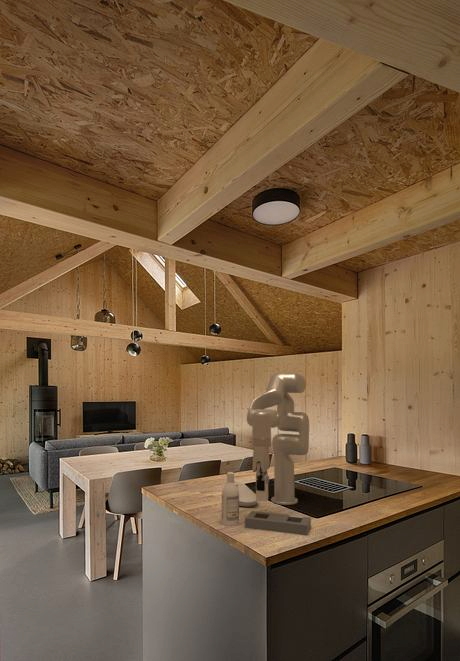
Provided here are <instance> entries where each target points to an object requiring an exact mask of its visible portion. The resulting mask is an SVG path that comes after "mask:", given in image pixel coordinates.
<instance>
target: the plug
mask: <svg viewBox="0 0 460 661" xmlns="http://www.w3.org/2000/svg"><path fill="white" fill-rule="evenodd" d="M260 475H262V474H260ZM264 480H265V490H264V491H257V488H256V487H255V494H256V501H258V502H262V503H263V502H265V503H266V502H267V501H268V500H269V483H270V476H269V473H268V472H267V473H264Z"/></svg>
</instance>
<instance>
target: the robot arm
mask: <svg viewBox="0 0 460 661" xmlns="http://www.w3.org/2000/svg"><path fill="white" fill-rule="evenodd" d="M306 388H307V380H306V379H305V376H303V375H301V374H299V373H297V372H274V373H273V374H272V375H271V376H270V378H269V381H268V384H267V386H266V390H265V392H263V393H261V394H260V395H259V396H256V398H254V399H253V400H252V401H251V403H250V406H249V407H248V409H247V413H246V422H247V425H249V426H250V427H252V428H251V429H252V430H251V431H252V433H251V434H252V439H251V440H252V443H251V444H252V447H253V450H252V472H253V473H255V489H256V488H257V491H264V490H265V480H264V473H268V470H269V469H270V447H272V451H273V462H274V463H273V464H274V468H273V469H274V470H273V471H274V476H273V477H274V480H273V481H274V496H272V497H271V502H272V503H274V504H276V505H283V506H287V505H288V506H290V505H291V506H292V505H296V504H297V503H299V502H298V501H299V499H298V498H297V497H295V464H294V460H293V459H292V457H291V455H293V456H306V455H307V454H308V453H309V449H310V419H309V415H308V414H307V413H306V412H303V411H302V412H301V411H295V400H294V399H293V397H292V396H291V395H290V394H302V393H304V392H305V390H306ZM274 406H275V407H276V406H277V407H276V409H269V408H272V407H274ZM273 428H274V429H275V428H277V430H279V431H281V432H292V433H294V432H296V433H298V434H296V433H295V434H292V433H278V434H274V436H273V438H272V429H273ZM260 474H262V475H260Z"/></svg>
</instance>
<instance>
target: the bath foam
mask: <svg viewBox="0 0 460 661" xmlns="http://www.w3.org/2000/svg"><path fill="white" fill-rule="evenodd" d="M236 485H237V483H235V472H232V471H228V472H227V473H226V483H225V484H224V486H223V488H222V490H221V525H223V526H225V527H236V526H238V525H239V524H240V505H239V491H238V488H237V486H236Z"/></svg>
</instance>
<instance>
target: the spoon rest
mask: <svg viewBox="0 0 460 661" xmlns="http://www.w3.org/2000/svg"><path fill="white" fill-rule="evenodd" d="M236 486H237V488H238V491H239V507H243V508H250V507H253V506H255V505H256V504H257V503H258V502H259V501H256V492H254V491H253V490H252V489H251V488H249V487H248V486H247V485H246V484H245V483H236Z"/></svg>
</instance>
